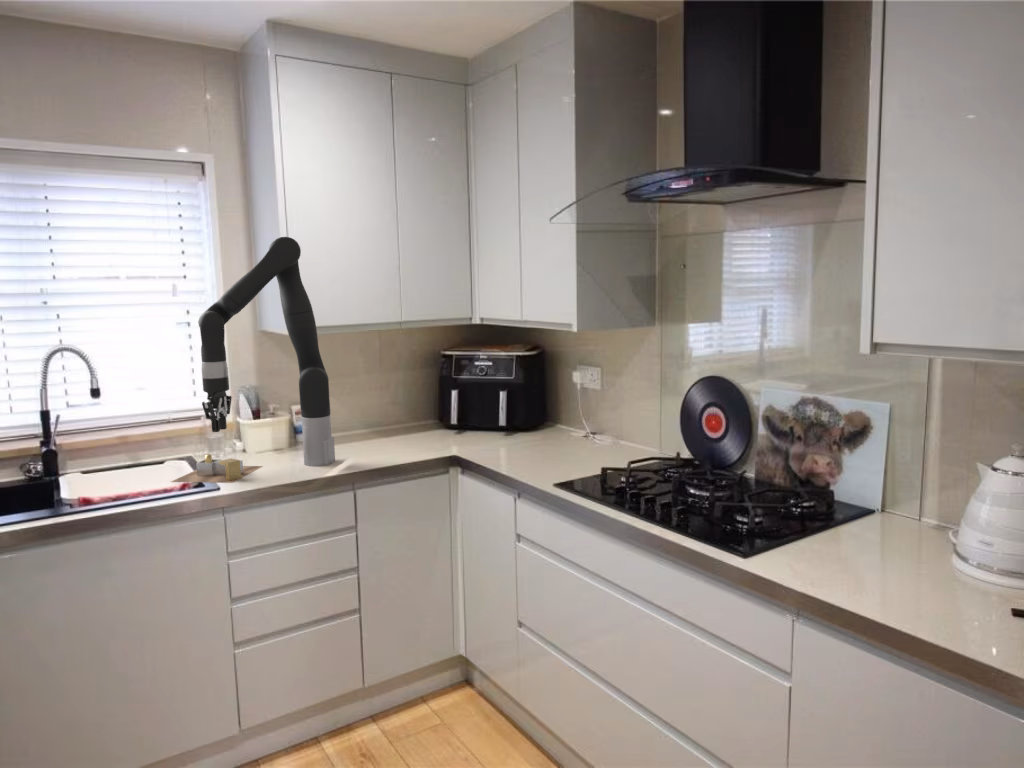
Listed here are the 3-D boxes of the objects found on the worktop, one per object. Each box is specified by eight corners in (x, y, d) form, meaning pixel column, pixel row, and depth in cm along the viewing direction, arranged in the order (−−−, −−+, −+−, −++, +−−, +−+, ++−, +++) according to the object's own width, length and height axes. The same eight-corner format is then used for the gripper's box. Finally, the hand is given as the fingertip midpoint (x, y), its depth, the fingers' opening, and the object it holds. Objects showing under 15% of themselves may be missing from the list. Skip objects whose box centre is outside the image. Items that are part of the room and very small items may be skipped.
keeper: (220, 478, 222) (219, 461, 221) (232, 475, 225) (230, 458, 224) (229, 480, 219) (228, 462, 218) (241, 477, 222) (239, 460, 222)
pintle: (214, 472, 229) (212, 454, 229) (210, 474, 227) (209, 455, 227) (208, 472, 230) (206, 454, 229) (204, 474, 228) (203, 455, 227)
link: (245, 471, 230) (244, 459, 229) (236, 476, 225) (236, 463, 224) (206, 471, 231) (205, 459, 231) (197, 475, 226) (196, 463, 226)
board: (263, 469, 237) (263, 466, 237) (232, 486, 217) (232, 482, 217) (206, 469, 239) (205, 465, 239) (170, 485, 220) (170, 481, 220)
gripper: (214, 378, 216) (219, 435, 219) (238, 373, 230) (242, 426, 233) (191, 378, 217) (195, 435, 220) (215, 373, 231) (220, 426, 234)
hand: (219, 430), depth 226 cm, fingers open, 3 cm apart
